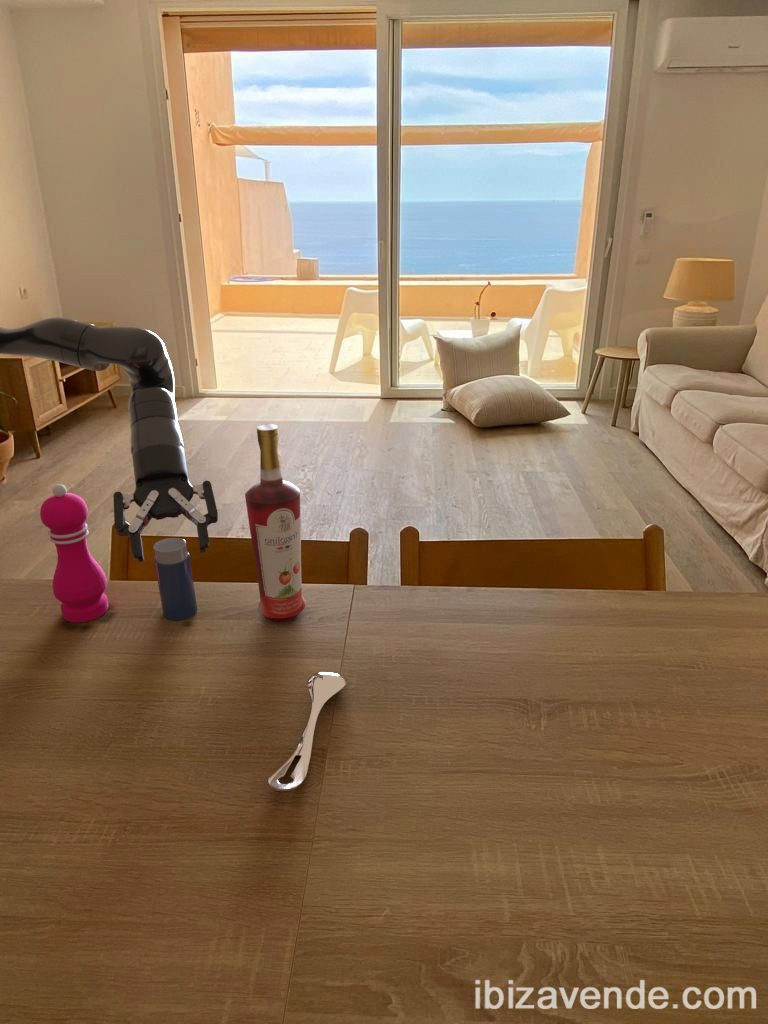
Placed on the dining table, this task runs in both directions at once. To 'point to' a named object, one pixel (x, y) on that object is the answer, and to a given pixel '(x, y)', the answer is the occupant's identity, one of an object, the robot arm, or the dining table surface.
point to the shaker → (175, 579)
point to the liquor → (275, 533)
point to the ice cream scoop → (308, 729)
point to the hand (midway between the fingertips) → (172, 555)
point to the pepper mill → (74, 558)
